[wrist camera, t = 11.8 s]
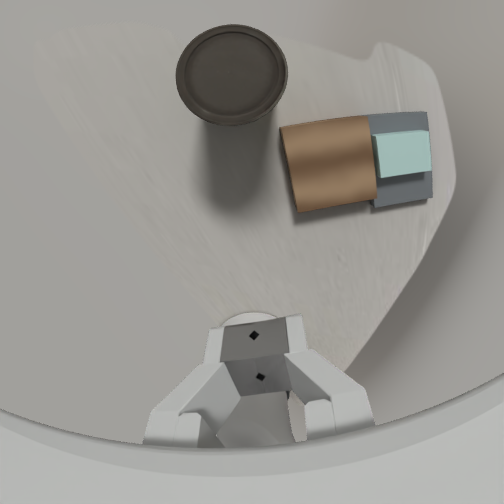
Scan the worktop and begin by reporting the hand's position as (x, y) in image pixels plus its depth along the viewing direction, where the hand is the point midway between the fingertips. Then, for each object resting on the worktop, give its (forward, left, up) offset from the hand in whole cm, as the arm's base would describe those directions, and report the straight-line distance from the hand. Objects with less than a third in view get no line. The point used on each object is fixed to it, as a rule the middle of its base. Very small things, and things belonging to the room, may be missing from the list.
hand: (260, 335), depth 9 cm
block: (-2, -21, -33) cm, 39 cm away
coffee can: (+11, 0, -34) cm, 36 cm away
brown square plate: (-2, -10, -34) cm, 36 cm away
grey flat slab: (-3, -21, -34) cm, 40 cm away
